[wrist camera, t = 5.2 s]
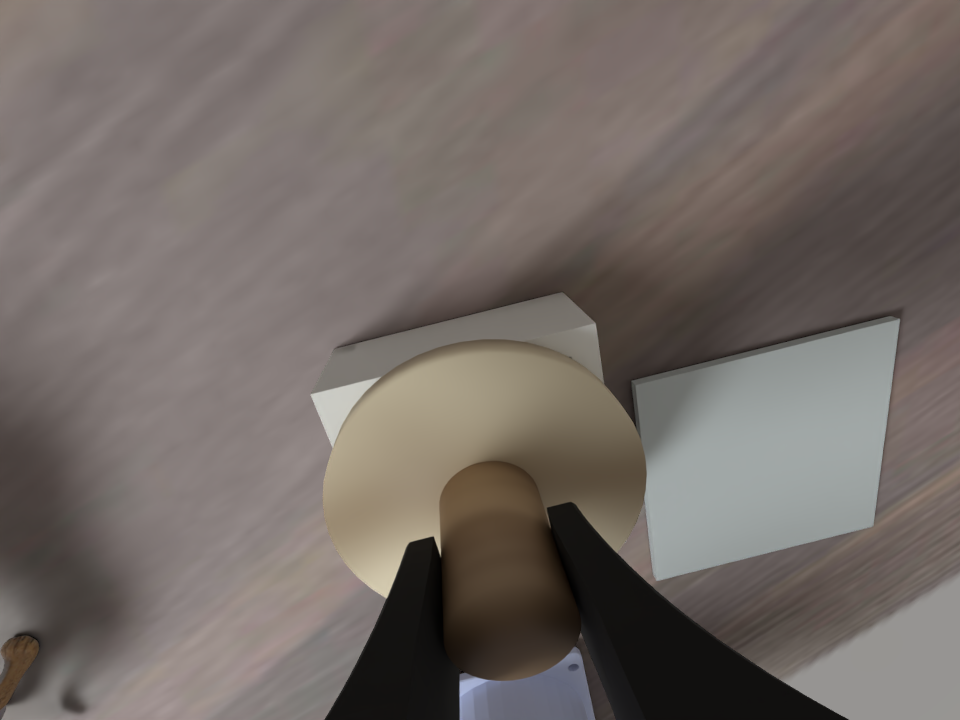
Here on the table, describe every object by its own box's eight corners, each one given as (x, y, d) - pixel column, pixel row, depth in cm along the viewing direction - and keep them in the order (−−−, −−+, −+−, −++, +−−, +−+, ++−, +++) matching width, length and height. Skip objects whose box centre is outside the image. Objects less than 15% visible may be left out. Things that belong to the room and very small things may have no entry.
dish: (593, 479, 19) (625, 542, 16) (401, 527, 19) (395, 600, 16) (562, 292, 16) (595, 322, 13) (334, 348, 16) (310, 394, 13)
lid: (651, 546, 16) (742, 702, 11) (394, 623, 16) (381, 808, 11) (604, 295, 12) (709, 376, 8) (274, 398, 12) (184, 537, 8)
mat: (865, 520, 22) (873, 526, 21) (653, 573, 22) (656, 581, 21) (890, 315, 18) (900, 319, 17) (631, 380, 18) (635, 385, 17)
